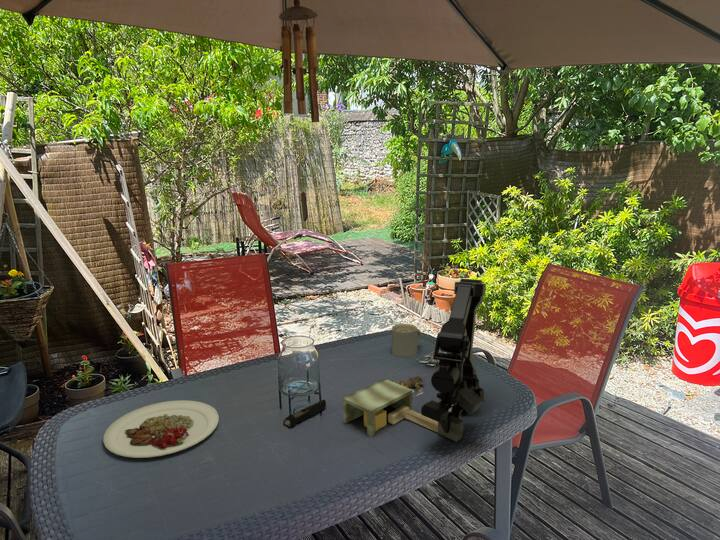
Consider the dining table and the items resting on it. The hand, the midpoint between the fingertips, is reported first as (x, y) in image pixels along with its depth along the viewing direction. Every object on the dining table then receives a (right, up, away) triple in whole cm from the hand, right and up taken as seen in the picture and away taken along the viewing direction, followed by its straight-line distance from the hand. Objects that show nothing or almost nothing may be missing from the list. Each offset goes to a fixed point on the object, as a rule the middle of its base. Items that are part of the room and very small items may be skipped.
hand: (450, 430), depth 136 cm
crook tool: (-6, -1, +4) cm, 7 cm away
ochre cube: (-20, -1, +7) cm, 21 cm away
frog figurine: (-8, +4, +30) cm, 31 cm away
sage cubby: (-19, 0, +11) cm, 22 cm away
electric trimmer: (-40, 0, +12) cm, 42 cm away
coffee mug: (-6, +11, +60) cm, 62 cm away
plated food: (-79, -2, +6) cm, 79 cm away
